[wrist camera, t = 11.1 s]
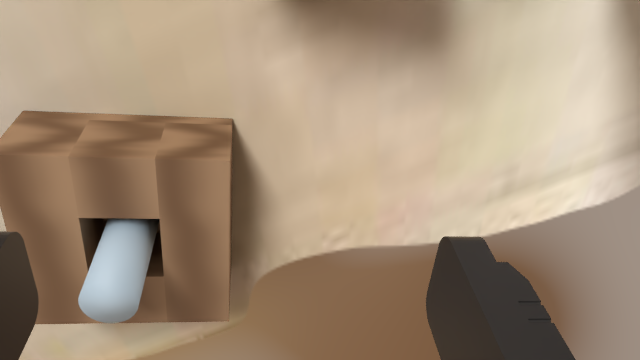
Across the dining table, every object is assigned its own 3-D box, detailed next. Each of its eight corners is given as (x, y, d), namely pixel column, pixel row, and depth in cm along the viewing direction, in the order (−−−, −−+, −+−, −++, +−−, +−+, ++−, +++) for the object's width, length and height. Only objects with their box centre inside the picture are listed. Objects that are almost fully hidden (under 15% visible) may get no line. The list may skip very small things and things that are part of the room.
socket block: (232, 118, 38) (229, 160, 33) (231, 268, 46) (228, 321, 41) (22, 110, 36) (-14, 154, 31) (56, 268, 44) (31, 324, 39)
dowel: (161, 187, 40) (136, 281, 31) (163, 224, 41) (140, 323, 33) (112, 186, 39) (74, 281, 31) (117, 223, 41) (82, 323, 33)
